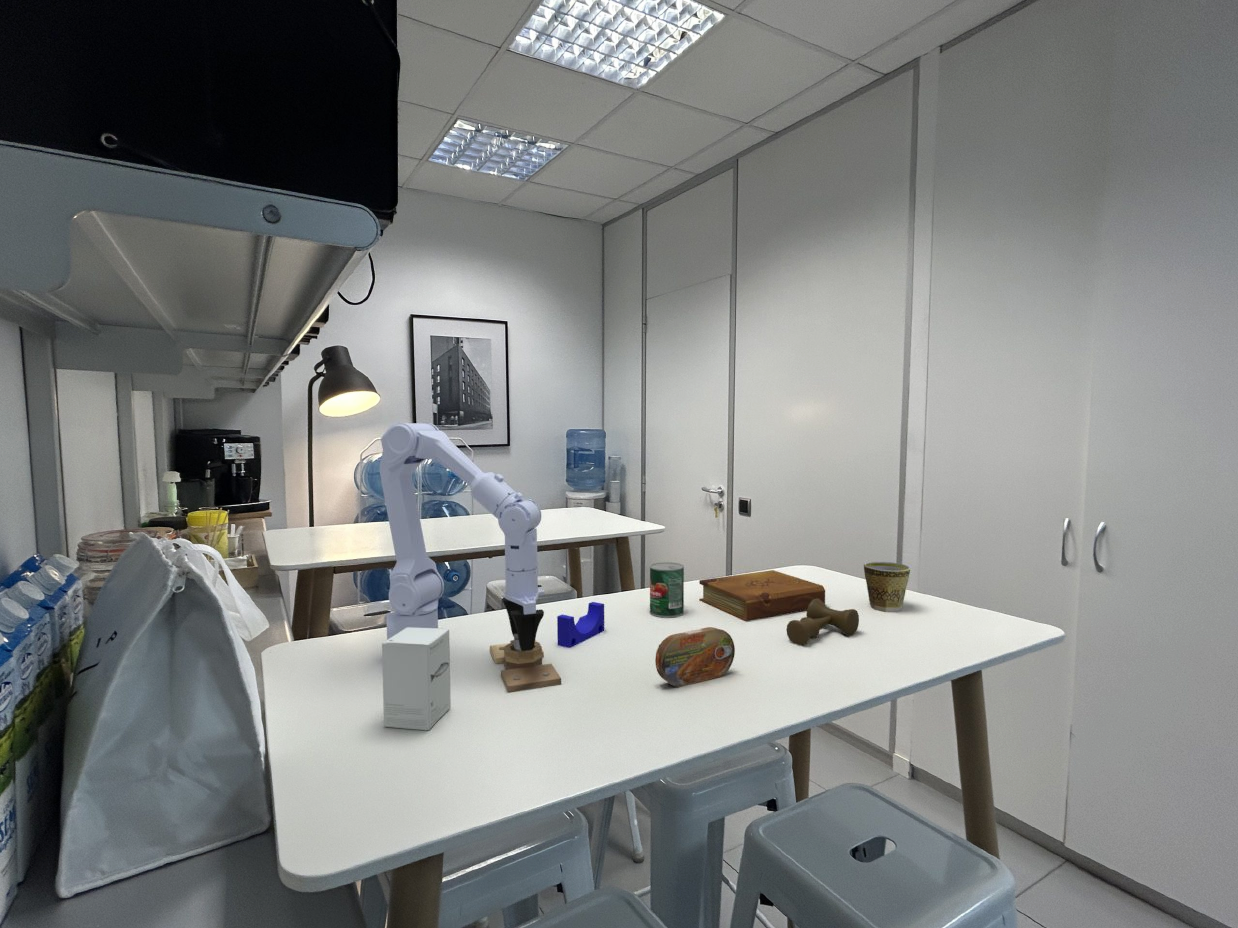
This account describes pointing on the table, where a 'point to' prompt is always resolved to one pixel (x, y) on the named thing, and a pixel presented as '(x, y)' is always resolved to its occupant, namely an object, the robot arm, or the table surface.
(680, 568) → the canned tomato
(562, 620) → the blue u-shaped block
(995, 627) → the table surface
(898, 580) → the ceramic cup
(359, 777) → the table surface
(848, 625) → the kendama
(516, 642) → the grey cylinder
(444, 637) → the supplement box
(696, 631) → the tin
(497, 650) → the hinge leaf
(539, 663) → the hinge plate
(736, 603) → the diary
